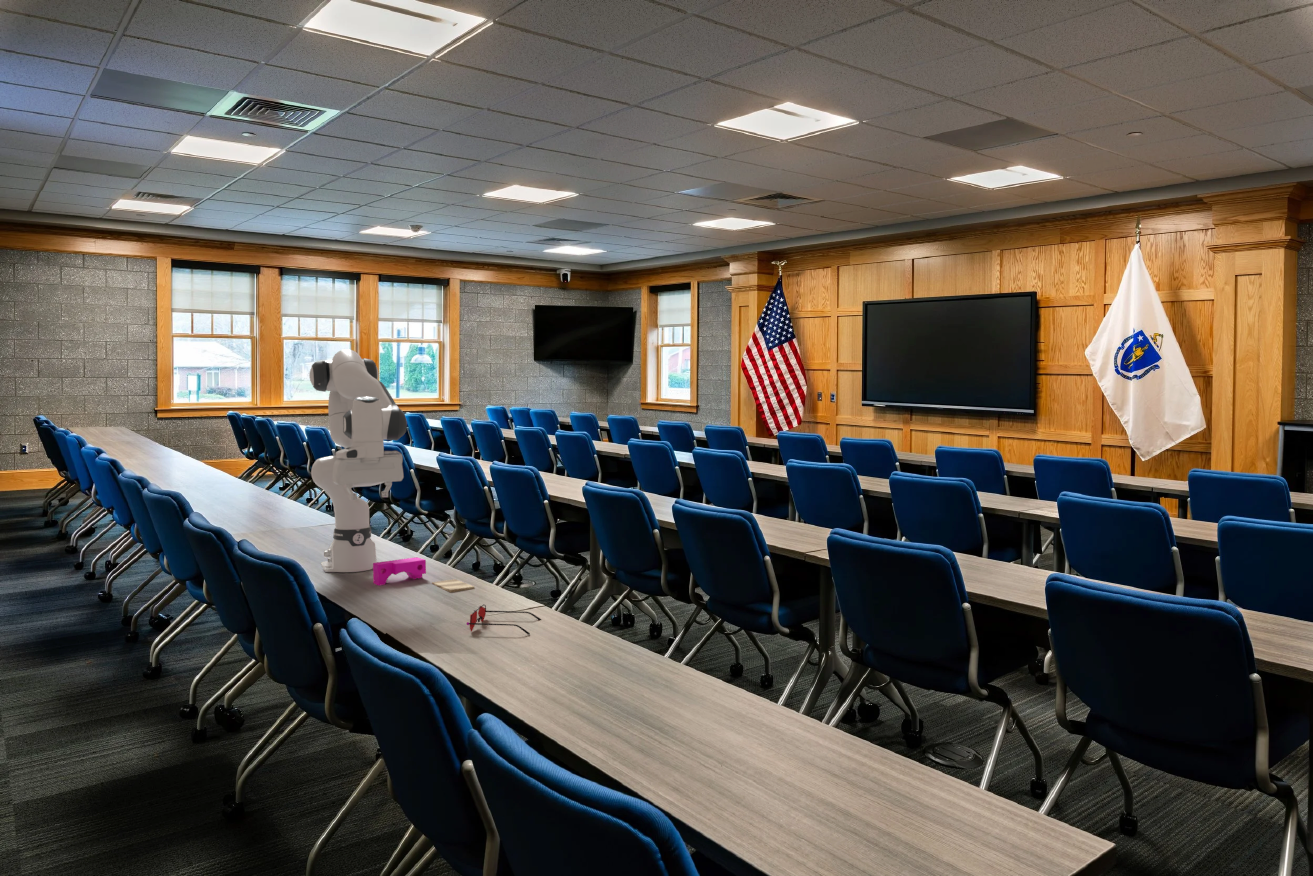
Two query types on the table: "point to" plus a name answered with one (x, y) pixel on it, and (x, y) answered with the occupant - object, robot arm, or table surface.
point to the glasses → (482, 614)
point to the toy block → (398, 569)
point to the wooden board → (453, 585)
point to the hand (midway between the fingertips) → (369, 498)
